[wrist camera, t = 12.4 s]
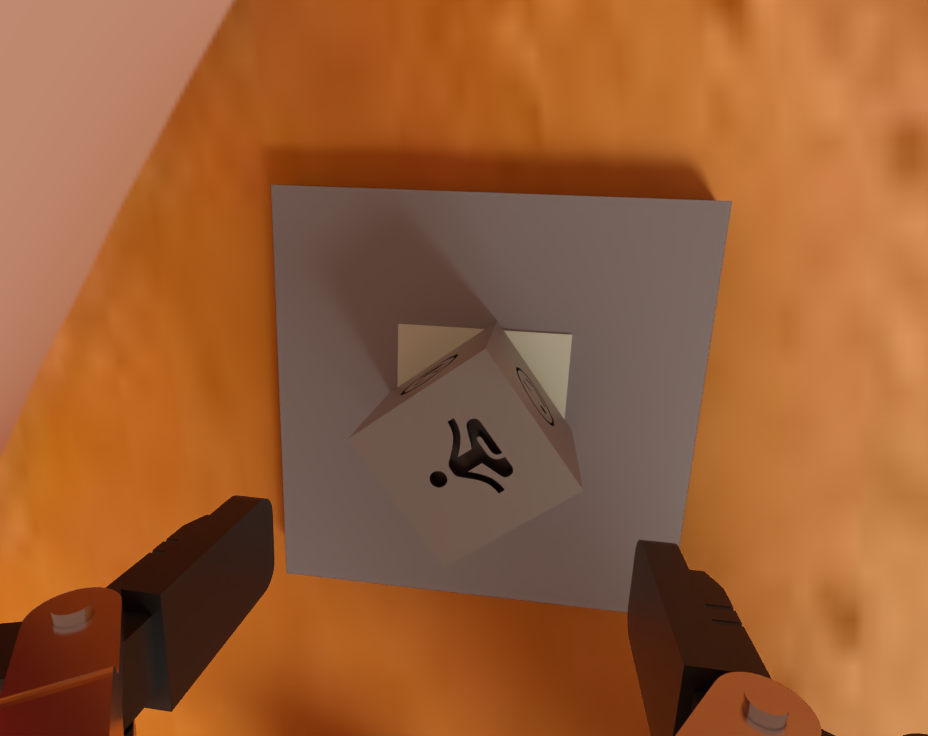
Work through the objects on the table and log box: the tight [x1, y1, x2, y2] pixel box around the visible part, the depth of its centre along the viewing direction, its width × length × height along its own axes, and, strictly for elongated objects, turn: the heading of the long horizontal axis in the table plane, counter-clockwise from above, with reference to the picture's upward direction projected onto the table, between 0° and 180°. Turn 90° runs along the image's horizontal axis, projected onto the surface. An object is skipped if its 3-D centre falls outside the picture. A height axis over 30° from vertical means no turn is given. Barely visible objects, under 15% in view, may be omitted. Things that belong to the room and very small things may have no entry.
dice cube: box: [348, 321, 583, 568], centre depth 19 cm, size 5×5×5 cm
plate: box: [271, 185, 732, 613], centre depth 22 cm, size 16×16×2 cm
